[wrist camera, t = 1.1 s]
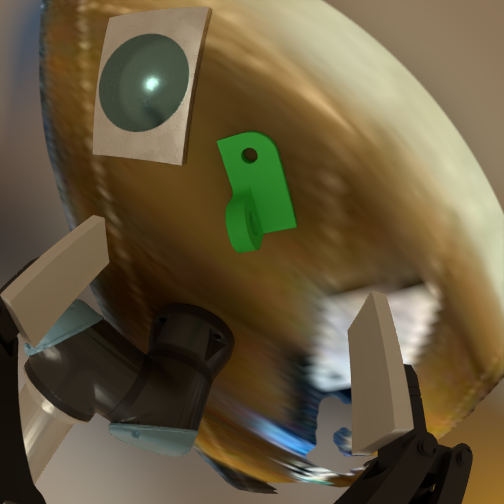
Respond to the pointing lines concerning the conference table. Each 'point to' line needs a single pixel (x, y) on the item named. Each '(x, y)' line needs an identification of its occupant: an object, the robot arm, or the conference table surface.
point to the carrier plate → (149, 83)
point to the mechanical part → (255, 190)
